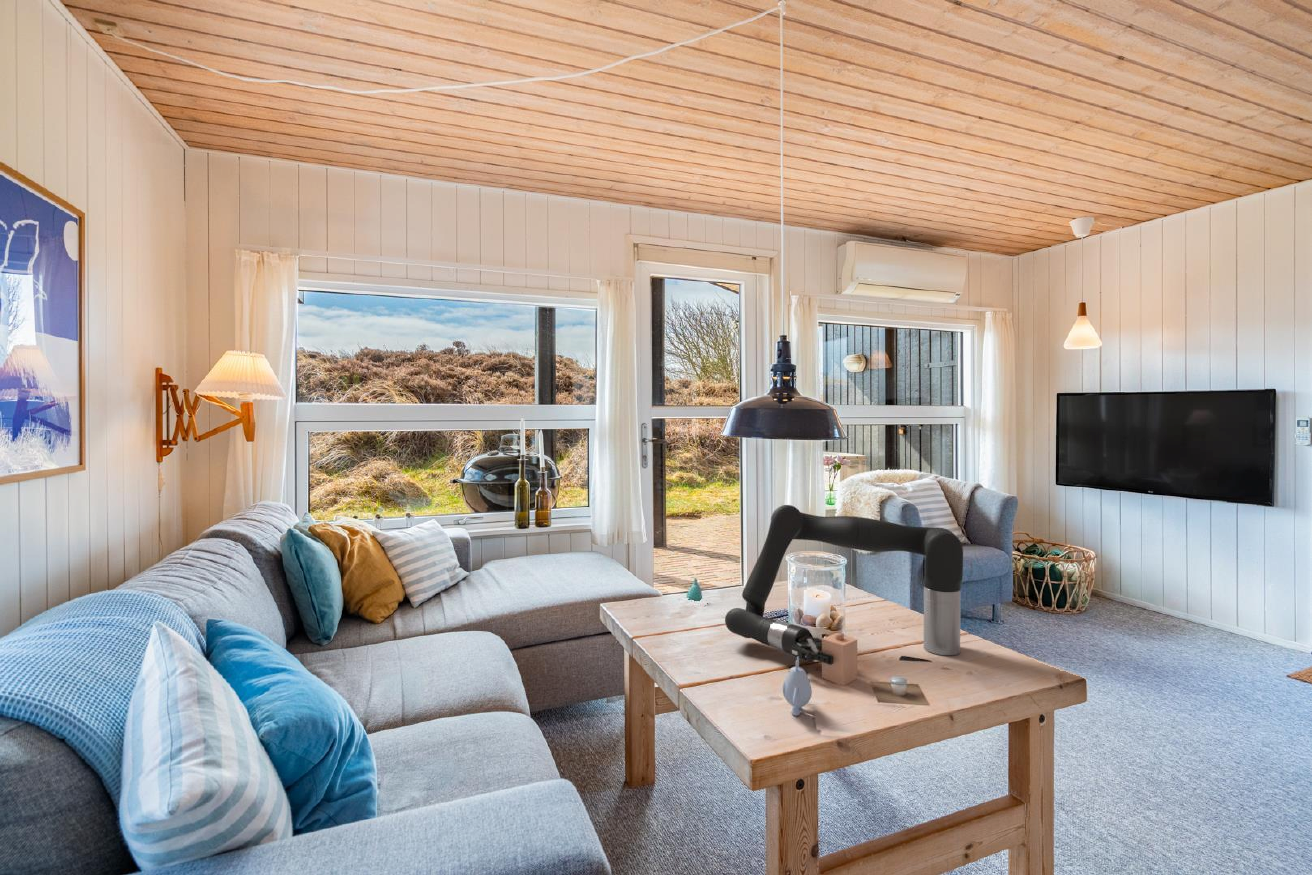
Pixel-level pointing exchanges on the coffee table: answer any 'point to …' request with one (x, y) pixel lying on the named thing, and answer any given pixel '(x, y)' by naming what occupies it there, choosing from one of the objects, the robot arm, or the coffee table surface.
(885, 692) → the board
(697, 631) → the coffee table surface
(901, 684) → the ramekin
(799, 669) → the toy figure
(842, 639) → the cover
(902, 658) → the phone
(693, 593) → the green christmas tree
